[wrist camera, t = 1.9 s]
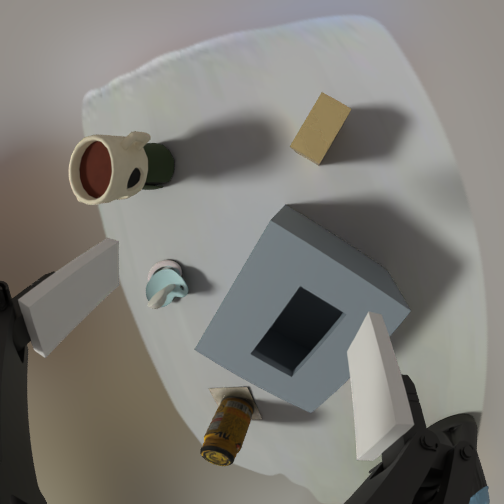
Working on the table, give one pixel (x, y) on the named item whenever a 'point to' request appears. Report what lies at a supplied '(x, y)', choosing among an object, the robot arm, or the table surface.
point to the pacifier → (165, 284)
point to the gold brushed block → (320, 128)
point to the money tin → (299, 311)
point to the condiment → (228, 424)
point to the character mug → (117, 167)
